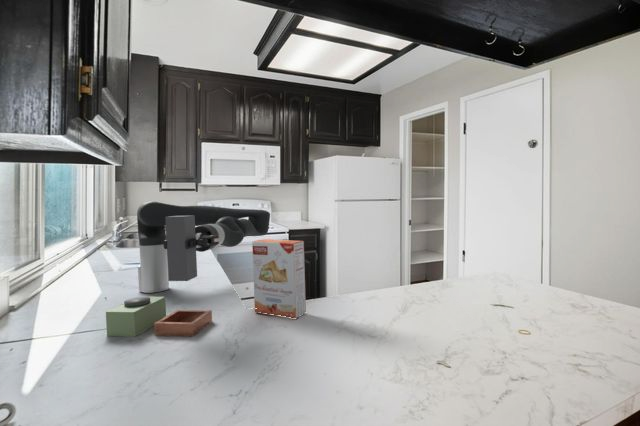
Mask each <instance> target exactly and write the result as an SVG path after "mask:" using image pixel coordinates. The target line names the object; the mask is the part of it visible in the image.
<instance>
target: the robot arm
mask: <svg viewBox="0 0 640 426" xmlns="http://www.w3.org/2000/svg"><path fill="white" fill-rule="evenodd" d="M136 215H137V218H136V220H137V221H136V222H137V236H138V245H139V246H138V247H139V265H137V274H138V275H137V276H138V291H139V292H142V293H144V294H146V293H147V294H150V293H151V294H152V293H158V292H159V293H160V292H163V291H167V290H169V288H170V287H169V286H170V283H169V282H170V281H168V260H167V240H166V219H165V217H170V216H191V215H195V238H193V239H188V240H186V241H185V248H186V249H190V248H194V247H196V252H199V253H203V252H206V251H210V250H212V249H215V248H218V247H219V246H222V247H228V248H232V247H237V246H238V245H239V244H241V243H242V242H243V240H244V238H246V237H262V236H265V235H267V234H268V232H269V228H270V220H271V214H270V212H269V211H267V210H264V209H251V208H249V209H248V208H229V207H222V206H221V207H220V206H212V205H182V206H181V205H176V204H169V203H163V202H159V201H155V200H149V201H146V202H143V203H142V204H140V206H139V207H138V209H137V214H136ZM247 218H248V219H247Z"/></svg>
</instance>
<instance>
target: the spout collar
mask: <svg viewBox="0 0 640 426" xmlns="http://www.w3.org/2000/svg"><path fill="white" fill-rule="evenodd" d="M212 322H213V311H212V310H210V309H209V310H206V309H205V310H204V309H199V310H198V309H197V310H194V309H193V310H192V309H191V310H190V309H176V310H174V311H173V312H171V313H169V314H166V317H164V318H162V319H161V320H159V321H157V322H156V323H154V326H153V327H154V336H158V337H159V336H160V337H161V336H164V337H195V336H196V335H197V334H198V333H200V332H201V331H202V330H203V329H205V328H206V327H207V326H208V325H210V324H211V323H212Z"/></svg>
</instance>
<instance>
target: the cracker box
mask: <svg viewBox="0 0 640 426" xmlns="http://www.w3.org/2000/svg"><path fill="white" fill-rule="evenodd" d="M251 244H252V265H253V266H252V267H253V268H252V270H253V297H254V298H253V299H254V313H255V312H261V313H267V314H274V315H281V316H286V317H291V318H297V317H299V316H300V315H302V314H304V313H305V312H307V311H306V310H307V307H306V304H307V303H306V301H307V300H306V274H305V271H306V269H305V268H306V267H305V265H306V264H305V241H304V240H293V239H292V240H289V239H271V238H270V239H269V238H263V239H256V240H253V241H252V243H251ZM255 308H257V309H255ZM305 314H306V313H305ZM305 314H304V315H305ZM302 316H303V315H302ZM300 317H301V316H300ZM300 317H299V318H300ZM297 319H298V318H297Z"/></svg>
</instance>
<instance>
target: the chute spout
mask: <svg viewBox="0 0 640 426" xmlns="http://www.w3.org/2000/svg"><path fill="white" fill-rule="evenodd" d="M165 219H166V225H165V233H166V240H167V260H168V281H169V282H188V281H190V280H192V279H195V278H197V277H198V263H197V251H196V247H194V248H190V249H186V248H185V241H186V240H188V239H193V238H195V215H191V216H170V217H165Z"/></svg>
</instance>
